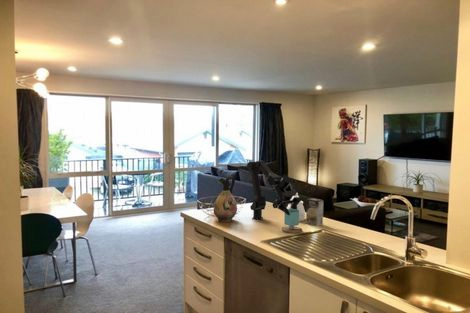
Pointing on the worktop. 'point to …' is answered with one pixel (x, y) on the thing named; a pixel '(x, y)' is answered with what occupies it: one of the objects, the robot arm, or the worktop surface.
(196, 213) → the worktop surface
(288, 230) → the post stand
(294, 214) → the teal upright block
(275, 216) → the worktop surface
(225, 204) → the ceramic jug
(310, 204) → the coffee box
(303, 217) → the honey pot
